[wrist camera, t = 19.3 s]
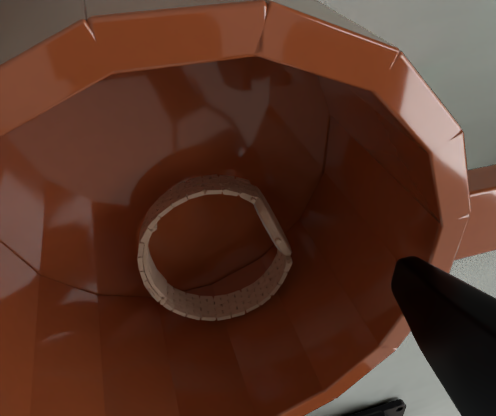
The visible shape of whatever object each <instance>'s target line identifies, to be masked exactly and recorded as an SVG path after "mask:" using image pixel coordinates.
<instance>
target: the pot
mask: <svg viewBox="0 0 496 416" xmlns="http://www.w3.org/2000/svg"><path fill="white" fill-rule="evenodd" d="M214 174H217V176H218V177H219V175H225V176H234V179H236V177H238V178H243V179H247V180H249V181H250V184H251V185H253V186H257V187H258V188H259V190H260V191H261V192H262V194H263V195H264V197H265V199H266V200H267V202H268V204H269V206H270V207H271V209H272V211H273V213H274V215H275V217H276V218H277V220H278V222H279V224H280V226H281V228H282V230H283V232H284V234H285V236H286V238H287V240H288V242H289V245H290V247H291V250H292V253H291V256H290V257H291V258H292V262H293V263H292V265H291V267H290V270H289V272H287V276H286V278H285V280H284V282H283V284H282V285H281V284H280V285H281V286H280V287H279V289H278V290H277V292H276V293H275V294H274V296H273V295H271V298H270V299H269V300H268V301H266V302H265V303H264V304H263V305H259V306H260V307H258V308H256V309H254V310H252V311H250V312H248V313H247V312H246V310H245V314H244V315H240V316H237V317H233V318H232V316H231V318H230V319H225V320H219V321H218V320H217V318H216V320H215V321H207V320H201V318H200V320H196V319H192V318H188V317H186V316H185V317H184V316H181V315H179V314H177V313H174V312H172V310H171V311H170V310H168V309H167V308H165V307H164V306H163V305H161V304H160V301H161V300H160V301H159V302H157V301H156V300H155V299H154V298H153V297H152V296H151V295H150V293H149V292H148V290H147V289H146V287H145V286H144V284H143V281H142V278H141V274H140V270H139V268H138V260H137V256H138V246H139V235H140V229H141V226H142V225H143V221H144V219H145V216H146V214H147V211H149V208H150V207H151V206H152V205H153V204H154V203H155V202H156V201H157V200H158V199H159V197H160V196H162V195H163V194H164V193H165V192H167V191H168V190H169V189H171V190H172V187H173V186H175V185H177V184H179V183H181V182H183V181H185V182H186V183H187V180H189V179H192V178H195V177H199V176H201V178H203V176H206V175H214ZM144 245H145V244H144ZM148 248H149V252H150V256H151V258H152V260H153V262H154V264H155V266H156V268H157V270H158V271H159V272H160V273H161V274H162V275H163V277H164V278H165V279H166V280H167V283H168V284H170V285H171V286H172V287H173V289H174V288H176V289H179V290H181V291H183V292H185V294H187V293H189V294H194V295H198V296H199V298H200V296H212V297H213V299H214V296H219V295H226V294H227V296H228V294H229V293H232V292H235V291H238V290H240V291H241V289H243V288H245V287H247V286H249V285H251V284H253V283H254V282H255V281H256V280H258V279H259V278H260V277H261V276H262V275H263V274H264V273H265V272H266V270H267V269H268V268H269V267H270V265H271V266H272V262H273V260H274V258H275V256H276V254H277V248H276V246H275V245H274V243H273V241H272V239H271V238H270V236H269V234H268V232H267V231H266V229H265V227H264V225H263V223H262V221H261V220H260V218H259V216H258V214H257V211H256V209H255V207H254V204H253V203H251V202H249V201H247V200H245V199H243V198H241V197H240V195H238V196H232V195H225V194H223V192H222V194H208V195H203V196H199V197H196V198H192V199H189V198H188V201H186V202H184V203H182V204H180V205H178V206H176V207H173V209H172V210H170V211H169V212H168V213H167V214H165V215H164V216H163V217H160V220H159V221H158V222H157V229H156V230H155V231H154V232H152V234H151V237H150V239H149V244H148ZM494 250H496V164H494V165H489V166H484V167H480V168H475V169H470V170H467V162H466V152H465V142H464V132H463V131H462V130H461V127H460V125H459V124H458V122H457V121H456V120H455V118H454V117H453V116H452V115H451V113H450V112H449V111H448V110H447V108H446V107H445V106H444V104H443V103H442V102H441V101H440V99H439V98H438V97H437V95H436V94H435V93H434V92H433V90H432V89H431V88H430V87H429V85H428V84H427V83H426V81H425V80H424V79H423V78H422V76H421V75H420V74H419V72H418V71H417V70H416V69H415V67H414V66H413V65H412V64H411V62H410V61H409V60H408V58H407V57H406V56H405V55H404V53H403V52H402V51H400V50H399V49H398V48H397V47H396V46H394V45H392V44H390V43H389V42H387V41H385V40H384V39H382V38H380V37H378V36H377V35H375V34H373V33H372V32H370V31H368V30H366V29H365V28H363V27H361V26H360V25H358V24H356V23H355V22H353V21H351V20H349V19H348V18H346V17H344V16H343V15H341V14H339V13H337V12H336V11H334V10H332V9H331V8H329V7H327V6H325V5H324V4H322V3H320V2H319V1H317V0H0V416H304V415H306V414H308V413H310V412H312V411H314V410H316V409H318V408H319V407H321V406H323V405H325V404H327V403H329V402H331V401H333V400H334V399H335V398H338V397H339V396H340V395H341V394H342V393H344V392H345V391H346V390H347V389H349V388H350V387H351V386H352V385H354V384H355V383H356V382H357V381H359V380H360V379H361V378H362V377H363V376H365V375H366V374H367V373H368V372H370V371H371V370H372V369H373V368H375V367H376V366H377V365H378V364H379V363H381V362H382V361H383V360H384V359H386V358H387V357H388V356H389V355H391V354H392V353H393V352H394V351H395V350H396V348H398V347H399V346H400V344H401V343H402V342H403V341H404V339H405V338H406V337H407V335H408V334H409V333H410V331H411V330H410V328H409V326H408V324H407V321H406V319H405V317H404V315H403V313H402V311H401V309H400V307H399V305H398V303H397V301H396V299H395V297H394V295H393V292H392V289H391V280H392V276H393V272H394V268H395V264H396V262H397V261H398V259H401V258H405V257H409V256H416V257H418V258H420V259H422V260H424V261H426V262H428V263H430V264H432V265H434V266H435V267H437V268H439V269H441V270H443V271H445V272H447V273H450V270H451V267H452V264H453V262H454V260H458V259H462V258H466V257H470V256H474V255H478V254H482V253H486V252H490V251H494ZM263 276H264V275H263ZM241 292H242V291H241Z"/></svg>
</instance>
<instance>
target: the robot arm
mask: <svg viewBox="0 0 496 416" xmlns="http://www.w3.org/2000/svg"><path fill="white" fill-rule="evenodd" d="M391 289H392V292H393V295H394V297H395V299H396V301H397V303H398V305H399V307H400V309H401V311H402V313H403V315H404V317H405V319H406V321H407V324H408V326H409V328H410V330H411V332H412V334H413V336H414V338H415V340H416V342H417V344H418V346H419V348H420V349H421V351H422V353H423V354H424V356H425V358H426V359H427V361H428V363H429V364H430V366H431V367H432V369H433V371H434V372H435V374H436V376H437V377H438V379H439V380H440V382H441V384H442V385H443V387H444V388H445V390H446V392H447V393H448V395H449V396H450V398H451V400H452V401H453V403H454V404H455V406H456V408H457V409H458V411H459V412H460V414H461V416H496V298H494V297H492V296H490V295H488V294H486V293H484V292H482V291H481V290H479V289H477V288H475V287H473V286H471V285H469V284H467V283H466V282H464V281H462V280H460V279H458V278H456V277H454V276H452V275H450V274H449V273H447V272H445V271H443V270H441V269H439V268H437V267H435V266H434V265H432V264H430V263H428V262H426V261H424V260H422V259H420V258H418V257H416V256H409V257H405V258H401V259H398V261H397V262H396V264H395V268H394V272H393V276H392V280H391ZM405 409H406V405H405V403H404V402H403V400H401V399H399V400H396V401H393V402H389V403H386V404H383V405H380V406H377V407H374V408H371V409H368V410H365V411H362V412H359V413H355V414H352V415H349V416H403V414H404V411H405Z"/></svg>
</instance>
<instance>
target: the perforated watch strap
mask: <svg viewBox="0 0 496 416" xmlns="http://www.w3.org/2000/svg"><path fill="white" fill-rule="evenodd" d="M222 192H223V194H225V195H232V196H238V195H240V197H241V198H243V199H245V200H247V201H249V202H251V203H253V204H254V207H255V209H256V211H257V214H258V216H259V218H260V220H261V221H262V223H263V225H264V227H265V229H266V231H267V232H268V234H269V236H270V238H271V239H272V241H273V243H274V245H275V246H276V248H277V254H276V256H275V258H274V260H273V262H272V266H271V265H270V267H269V268H268V269H267V270H266V272H265V273H264V274H263V275H264V276H263V275H262V276H261V277H260V278H259V279H258V280H256V281H255V282H254V283H253V284H251V285H249V286H247V287H245V288H243V289H241V291H242V292H241V291H240V290H238V291H235V292H232V293H229V294H228V296H227V294H226V295H219V296H214V299H213V297H212V296H200V298H199V296H198V295H194V294H189V293H187V294H185V292H183V291H181V290H179V289H176V288H174V289H173V287H172V286H171V285H170V284H168V283H167V280H166V279H165V278H164V277H163V275H162V274H161V273H160V272H159V271H158V270H157V268H156V266H155V264H154V262H153V260H152V258H151V256H150V252H149V248H148V244H149V239H150V237H151V234H152V232H154V231H155V230H156V229H157V222H158V221H159V220H160V217H163V216H164V215H165V214H167V213H168V212H169V211H170V210H172V209H173V207H176V206H178V205H180V204H182V203H184V202H186V201H188V198H189V199H192V198H196V197H199V196H203V195H208V194H222ZM144 244H145V245H144ZM291 253H292V250H291V247H290V245H289V242H288V240H287V238H286V236H285V234H284V232H283V230H282V228H281V226H280V224H279V222H278V220H277V218H276V217H275V215H274V213H273V211H272V209H271V207H270V206H269V204H268V202H267V200H266V199H265V197H264V195H263V194H262V192H261V191H260V190H259V188H258V187H257V186H253V185H251V184H250V181H249V180H247V179H243V178H238V177H236V179H234V176H225V175H219V177H218V176H217V174H214V175H206V176H203V178H201V176H199V177H195V178H192V179H189V180H187V183H186V182H185V181H183V182H181V183H179V184H177V185H175V186H173V187H172V190H171V189H169V190H168V191H167V192H165V193H164V194H163V195H162V196H160V197H159V199H158V200H157V201H156V202H155V203H154V204H153V205H152V206H151V207H150V208H149V211H147V214H146V216H145V219H144V221H143V225H142V226H141V229H140V235H139V246H138V256H137V260H138V268H139V270H140V274H141V278H142V281H143V284H144V286H145V287H146V289H147V290H148V292H149V293H150V295H151V296H152V297H153V298H154V299H155V300H156V301H157V302H159V301H160V300H161V301H160V304H161V305H163V306H164V307H165V308H167V309H168V310H170V311H171V310H172V312H174V313H177V314H179V315H181V316H184V317H185V316H186V317H188V318H192V319H196V320H200V318H201V320H207V321H215V320H216V318H217V320H218V321H219V320H225V319H230V318H231V316H232V318H233V317H237V316H240V315H244V314H245V310H246V312H247V313H248V312H250V311H252V310H254V309H256V308H258V307H260V306H259V305H263V304H264V303H265V302H266V301H268V300H269V299H270V298H271V295H273V296H274V294H275V293H276V292H277V290H278V289H279V287H280V286H281V285H282V284H283V282H284V280H285V278H286V276H287V272H289V270H290V267H291V265H292V263H293V262H292V258H291V257H290V256H291ZM280 284H281V285H280Z"/></svg>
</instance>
